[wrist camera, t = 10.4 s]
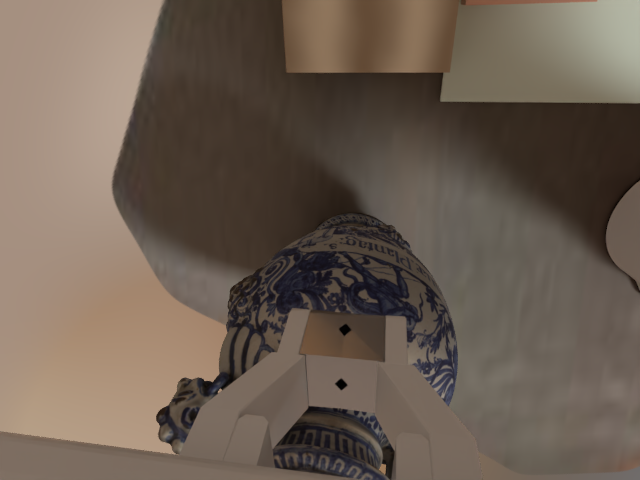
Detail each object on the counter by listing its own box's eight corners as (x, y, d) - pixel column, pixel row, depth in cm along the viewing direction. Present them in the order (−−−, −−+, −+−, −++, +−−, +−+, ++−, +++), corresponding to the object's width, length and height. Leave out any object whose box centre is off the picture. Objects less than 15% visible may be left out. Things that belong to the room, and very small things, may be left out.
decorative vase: (488, 241, 43) (592, 546, 20) (387, 341, 53) (379, 623, 30) (312, 135, 40) (194, 349, 17) (240, 262, 50) (103, 507, 27)
